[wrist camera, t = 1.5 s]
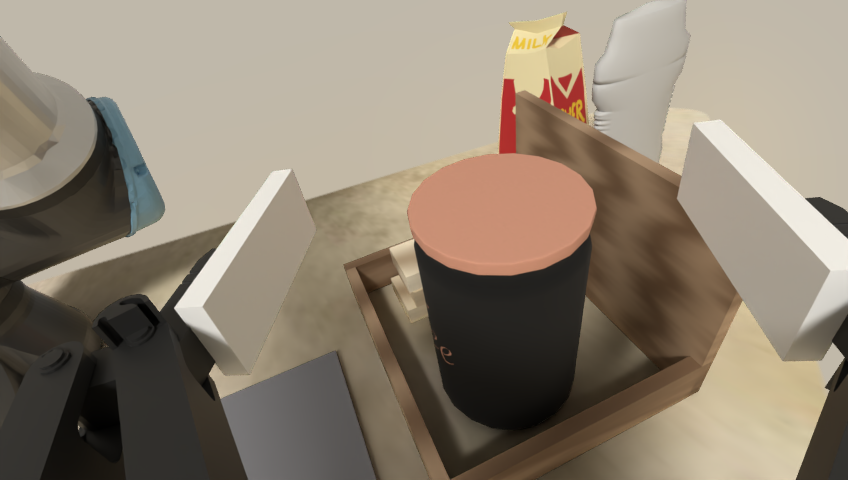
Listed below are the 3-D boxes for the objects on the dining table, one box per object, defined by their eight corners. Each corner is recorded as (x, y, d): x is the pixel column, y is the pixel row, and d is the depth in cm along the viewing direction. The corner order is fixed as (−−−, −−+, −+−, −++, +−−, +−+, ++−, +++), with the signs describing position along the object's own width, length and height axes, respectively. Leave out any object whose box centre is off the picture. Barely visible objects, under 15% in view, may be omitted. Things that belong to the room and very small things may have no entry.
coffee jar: (459, 315, 42) (436, 149, 31) (576, 334, 39) (600, 155, 27) (425, 418, 35) (378, 251, 23) (566, 454, 31) (593, 277, 20)
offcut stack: (394, 291, 46) (382, 249, 42) (502, 247, 49) (500, 204, 45) (411, 324, 42) (400, 281, 39) (527, 275, 45) (528, 230, 41)
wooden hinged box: (353, 291, 47) (305, 160, 36) (524, 224, 51) (524, 90, 41) (448, 525, 29) (408, 399, 19) (698, 391, 33) (777, 228, 23)
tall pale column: (636, 189, 53) (679, -17, 39) (665, 205, 50) (722, -11, 36) (565, 222, 50) (583, 13, 36) (591, 241, 47) (621, 22, 33)
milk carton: (591, 171, 57) (611, 2, 44) (541, 202, 54) (548, 28, 41) (537, 148, 63) (542, -6, 50) (490, 175, 60) (482, 16, 47)
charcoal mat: (182, 420, 38) (178, 416, 37) (337, 354, 41) (335, 350, 40) (176, 612, 27) (171, 610, 27) (384, 505, 30) (383, 502, 30)
